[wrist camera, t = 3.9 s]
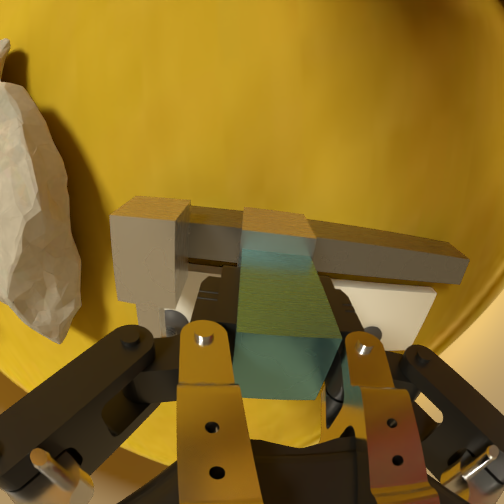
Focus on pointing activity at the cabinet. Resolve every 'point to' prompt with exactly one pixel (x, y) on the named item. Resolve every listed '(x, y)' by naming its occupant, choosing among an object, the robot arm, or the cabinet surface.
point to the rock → (34, 218)
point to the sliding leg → (281, 310)
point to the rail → (227, 249)
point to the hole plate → (360, 294)
